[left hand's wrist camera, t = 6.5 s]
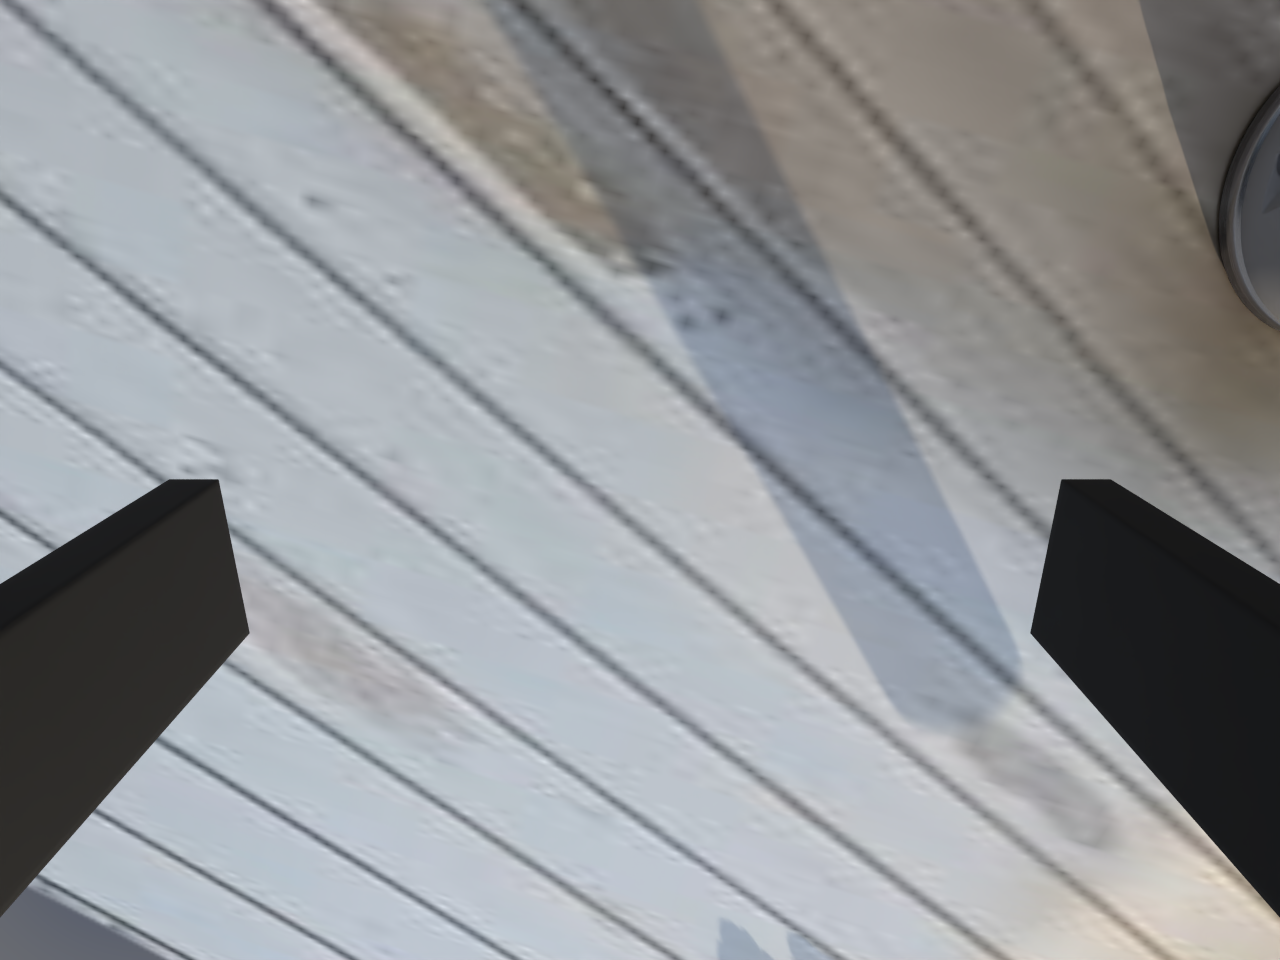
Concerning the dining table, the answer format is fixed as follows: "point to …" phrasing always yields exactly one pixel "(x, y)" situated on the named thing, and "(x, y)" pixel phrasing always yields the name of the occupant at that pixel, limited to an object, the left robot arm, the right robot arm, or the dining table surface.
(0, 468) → the dining table surface
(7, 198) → the dining table surface
